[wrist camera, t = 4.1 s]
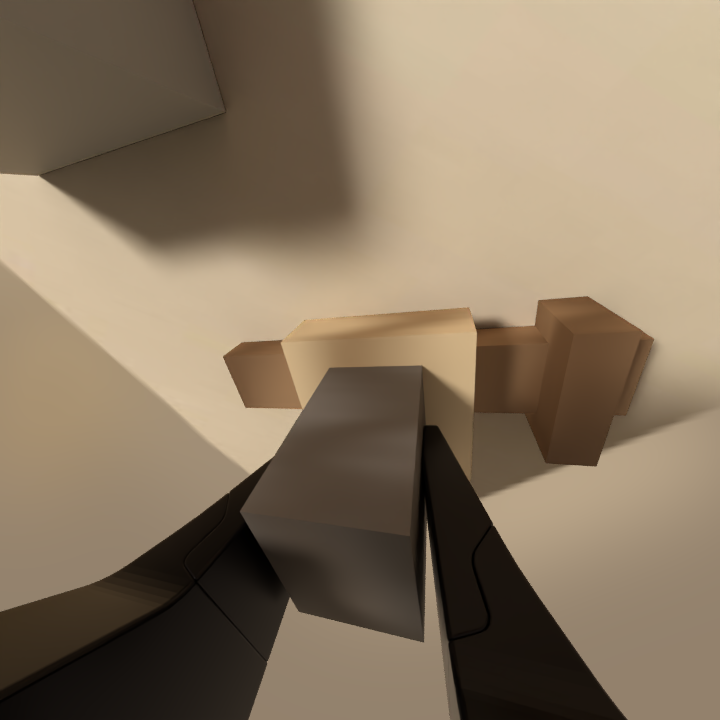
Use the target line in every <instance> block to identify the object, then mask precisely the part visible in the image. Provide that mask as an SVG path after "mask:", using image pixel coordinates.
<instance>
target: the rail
mask: <svg viewBox="0 0 720 720" xmlns="http://www.w3.org/2000/svg"><path fill="white" fill-rule="evenodd" d="M476 331H477V341H476V367H475V392H474V412H484V413H525V415H526V418H527V420H528V422H529V425H530V427H531V429H532V432H533V434H534V437H535V439H536V441H537V444H538V446H539V448H540V451H541V453H542V455H543V458H544V460H545V462H546V463H551V464H566V465H583V466H597V463H598V460H599V457H600V454H601V452H602V449H603V446H604V443H605V440H606V437H607V434H608V431H609V428H610V425H611V422H612V420H613V417H614V415H626V414H627V411H628V408H629V406H630V403H631V400H632V398H633V395H634V392H635V389H636V387H637V384H638V381H639V379H640V376H641V373H642V370H643V368H644V365H645V362H646V360H647V357H648V354H649V352H650V349H651V346H652V343H653V341H654V339H653V338H652V337H650V336H649V335H647V334H645V333H644V332H643V331H642V330H640V329H639V328H637V327H635V326H634V325H632V324H631V323H629V322H627V321H626V320H624V319H623V318H621V317H620V316H618V315H616V314H615V313H613V312H612V311H610V310H608V309H607V308H605V307H604V306H602V305H600V304H599V303H597V302H596V301H594V300H593V299H591V298H589V297H588V296H587V297H575V298H562V299H550V300H539V301H538V308H537V315H536V322H535V326H526V327H508V328H490V329H476ZM282 341H283V340H279V341H261V342H244V343H241V344H239V345H238V346H237V347H235V348H234V349H232V350H231V351H230V352H228V353H227V354H226V355H224V356H223V358H224V360H225V363H226V365H227V367H228V369H229V372H230V374H231V376H232V378H233V381H234V383H235V385H236V387H237V389H238V392H239V394H240V396H241V398H242V401H243V403H244V405H245V407H246V408H289V409H302V406H301V403H300V400H299V397H298V394H297V391H296V388H295V385H294V382H293V379H292V376H291V373H290V370H289V367H288V364H287V361H286V358H285V355H284V352H283V348H282V345H281V342H282Z"/></svg>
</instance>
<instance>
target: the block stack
mask: <svg viewBox="0 0 720 720" xmlns="http://www.w3.org/2000/svg"><path fill="white" fill-rule="evenodd" d="M476 341H477V331H476V328H475V325H474V322H473V318H472V315H471V312H470V309H469V308H456V309H443V310H430V311H417V312H404V313H391V314H378V315H365V316H353V317H340V318H327V319H314V320H304V321H303V322H302V323H301V324H300V325H299V326H298V327H297V328H296V329H295V330H294V331H292V332H291V333H290V334H289V335H288V336H287V337H286V338H285V339H284V340H283V341H282V342H281V345H282V348H283V352H284V355H285V358H286V361H287V364H288V367H289V370H290V373H291V376H292V379H293V382H294V385H295V388H296V391H297V394H298V397H299V400H300V403H301V406H302V410H303V411H302V412H301V414H300V416H299V417H298V419H297V420H296V422H295V424H294V425H293V427H292V428H291V430H290V432H289V433H288V435H287V436H286V438H285V440H284V441H283V443H282V445H281V446H280V448H279V449H278V451H277V453H276V454H275V456H274V457H273V459H272V461H271V462H270V464H269V465H268V467H267V469H266V470H265V472H264V473H263V475H262V477H261V478H260V480H259V481H258V483H257V485H256V486H255V488H254V490H253V491H252V493H251V494H250V496H249V498H248V499H247V501H246V502H245V504H244V506H243V507H242V509H241V510H240V513H241V514H242V516H243V518H244V519H245V521H246V523H247V525H248V526H249V528H250V530H251V531H252V533H253V535H254V536H255V538H256V540H257V541H258V543H259V545H260V547H261V548H262V550H263V552H264V553H265V555H266V557H267V558H268V560H269V562H270V564H271V565H272V567H273V569H274V570H275V572H276V574H277V575H278V577H279V579H280V580H281V582H282V584H283V586H284V587H285V589H286V591H287V592H288V594H289V596H290V597H291V599H292V601H293V602H294V604H295V606H296V608H297V609H298V611H299V612H303V613H307V614H311V615H315V616H319V617H323V618H327V619H331V620H335V621H339V622H343V623H347V624H351V625H356V626H359V627H363V628H368V629H372V630H375V631H380V632H384V633H388V634H392V635H396V636H400V637H404V638H408V639H412V640H416V641H420V642H424V616H425V573H426V528H427V527H426V526H427V513H426V503H425V490H424V478H423V465H422V443H423V429H424V426H425V425H437V426H438V427H439V429H440V430H441V432H442V434H443V436H444V437H445V439H446V441H447V443H448V445H449V446H450V448H451V450H452V452H453V453H454V455H455V457H456V459H457V461H458V462H459V464H460V466H461V468H462V469H463V471H464V473H465V475H466V477H467V478H468V480H469V481H471V468H472V443H473V417H474V392H475V367H476Z"/></svg>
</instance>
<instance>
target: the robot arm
mask: <svg viewBox="0 0 720 720" xmlns="http://www.w3.org/2000/svg"><path fill="white" fill-rule="evenodd" d="M272 459H273V458H271V459H270V460H269V461H268V462H266V463H265V464H264V465H263V466H261V467H260V468H259V469H258V470H256V471H255V472H254V473H252V474H251V475H250V476H249V477H248V478H246V479H245V480H244V481H242V482H241V483H240V484H239V485H237V486H236V487H235V488H233V489H232V490H231V491H230V493H227V494H226V495H224V496H223V497H222V498H221V499H220V500H218V501H217V502H216V503H214V504H213V505H212V506H210V507H209V508H208V509H206V510H205V511H204V512H203V513H201V514H200V515H199V516H197V517H196V518H194V519H193V520H192V521H190V522H189V523H187V524H186V525H185V526H183V527H182V528H180V529H179V530H178V531H176V532H175V533H173V534H172V535H171V536H169V537H168V538H166V539H165V540H163V541H162V542H160V543H159V544H157V545H156V546H154V547H153V548H151V549H150V550H149V551H147V552H146V553H144V554H143V555H141V556H140V557H138V558H137V559H136V560H134V561H133V562H132V563H130V564H128V565H127V566H125V567H124V568H122V569H121V570H119V571H117V572H116V573H114V574H112V575H110V576H108V577H106V578H104V579H102V580H100V581H97V582H95V583H92V584H90V585H87V586H84V587H80V588H77V589H74V590H71V591H67V592H64V593H61V594H57V595H54V596H51V597H48V598H44V599H41V600H38V601H34V602H31V603H28V604H24V605H21V606H18V607H14V608H12V609H8V610H5V611H2V612H0V720H248V719H249V716H250V713H251V710H252V707H253V704H254V701H255V698H256V695H257V692H258V690H259V686H260V684H261V681H262V678H263V675H264V672H265V669H266V666H267V661H268V659H269V656H270V654H271V651H272V648H273V644H274V642H275V639H276V636H277V633H278V630H279V627H280V624H281V621H282V618H283V615H284V612H285V609H286V606H287V603H288V600H289V598H290V596H289V594H288V592H287V591H286V589H285V587H284V586H283V584H282V582H281V580H280V579H279V577H278V575H277V574H276V572H275V570H274V569H273V567H272V565H271V564H270V562H269V560H268V558H267V557H266V555H265V553H264V552H263V550H262V548H261V547H260V545H259V543H258V541H257V540H256V538H255V536H254V535H253V533H252V531H251V530H250V528H249V526H248V525H247V523H246V521H245V519H244V518H243V516H242V514H241V513H240V510H241V509H242V507H243V506H244V504H245V502H246V501H247V499H248V498H249V496H250V494H251V493H252V491H253V490H254V488H255V486H256V485H257V483H258V481H259V480H260V478H261V477H262V475H263V473H264V472H265V470H266V469H267V467H268V465H269V464H270V462H271V461H272ZM422 465H423V478H424V490H425V503H426V513H427V522H428V531H429V539H430V548H431V557H432V566H433V575H434V583H435V592H436V601H437V610H438V618H439V627H440V635H441V644H442V653H443V662H444V671H445V679H446V688H447V697H448V706H449V715H450V720H627V719H626V717H625V716H624V715H623V714H622V712H621V711H620V710H619V709H618V707H617V706H616V705H615V703H614V702H613V701H612V700H611V698H610V697H609V696H608V694H607V693H606V692H605V690H604V689H603V688H602V686H601V685H600V684H599V682H598V681H597V679H596V678H595V677H594V675H593V674H592V672H591V671H590V669H589V668H588V667H587V665H586V664H585V662H584V661H583V660H582V658H581V657H580V655H579V654H578V652H577V651H576V650H575V648H574V647H573V645H572V644H571V642H570V641H569V640H568V638H567V637H566V635H565V634H564V632H563V631H562V630H561V628H560V627H559V625H558V624H557V622H556V621H555V620H554V618H553V617H552V615H551V614H550V612H549V611H548V610H547V608H546V607H545V605H544V604H543V602H542V601H541V600H540V598H539V597H538V595H537V594H536V592H535V591H534V589H533V588H532V586H531V585H530V583H529V582H528V581H527V579H526V577H525V576H524V575H523V573H522V571H521V570H520V568H519V567H518V565H517V564H516V562H515V560H514V559H513V557H512V555H511V554H510V552H509V550H508V549H507V547H506V545H505V544H504V542H503V540H502V539H501V537H500V535H499V534H498V531H497V530H496V528H495V527H494V526H493V523H492V521H491V520H490V518H489V516H488V514H487V512H486V511H485V509H484V507H483V505H482V503H481V501H480V500H479V498H478V496H477V494H476V493H475V491H474V489H473V487H472V485H471V484H470V482H469V480H468V478H467V477H466V475H465V473H464V471H463V469H462V468H461V466H460V464H459V462H458V461H457V459H456V457H455V455H454V453H453V452H452V450H451V448H450V446H449V445H448V443H447V441H446V439H445V437H444V436H443V434H442V432H441V430H440V429H439V427H438V426H437V425H425V426H424V429H423V443H422Z"/></svg>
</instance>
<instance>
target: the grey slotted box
mask: <svg viewBox="0 0 720 720" xmlns="http://www.w3.org/2000/svg"><path fill="white" fill-rule="evenodd" d="M225 112H226V111H225V107H224V104H223V101H222V97H221V94H220V91H219V87H218V84H217V81H216V77H215V74H214V71H213V67H212V64H211V61H210V57H209V54H208V51H207V47H206V44H205V41H204V37H203V34H202V31H201V27H200V24H199V21H198V17H197V14H196V11H195V7H194V4H193V1H192V0H0V173H1V174H18V175H35V176H38V175H41V174H44V173H47V172H50V171H53V170H56V169H59V168H62V167H65V166H68V165H71V164H74V163H77V162H79V161H82V160H85V159H88V158H91V157H94V156H97V155H100V154H103V153H106V152H109V151H112V150H115V149H118V148H121V147H124V146H127V145H130V144H133V143H136V142H139V141H142V140H145V139H148V138H151V137H154V136H157V135H160V134H163V133H165V132H168V131H171V130H174V129H177V128H180V127H183V126H186V125H189V124H192V123H195V122H198V121H201V120H204V119H207V118H210V117H213V116H216V115H219V114H222V113H225Z"/></svg>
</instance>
